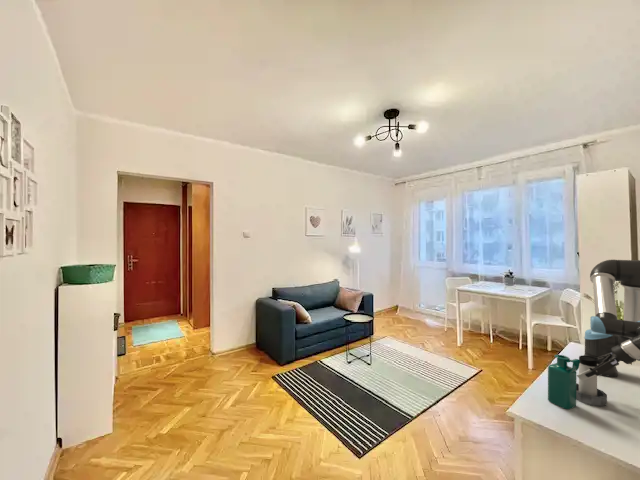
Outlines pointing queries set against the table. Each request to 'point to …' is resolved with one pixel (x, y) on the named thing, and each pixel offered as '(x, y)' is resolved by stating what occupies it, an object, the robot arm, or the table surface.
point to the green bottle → (562, 382)
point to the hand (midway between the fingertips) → (581, 373)
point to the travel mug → (591, 383)
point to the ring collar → (592, 398)
